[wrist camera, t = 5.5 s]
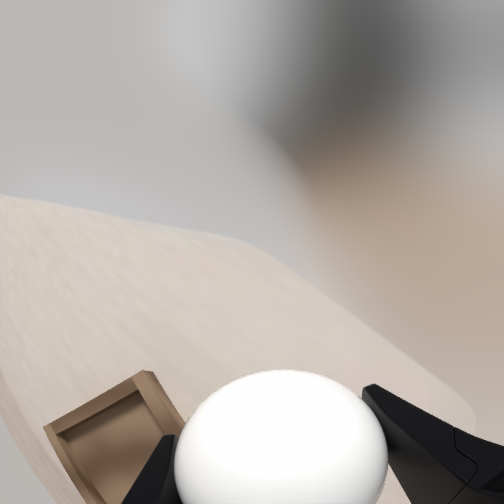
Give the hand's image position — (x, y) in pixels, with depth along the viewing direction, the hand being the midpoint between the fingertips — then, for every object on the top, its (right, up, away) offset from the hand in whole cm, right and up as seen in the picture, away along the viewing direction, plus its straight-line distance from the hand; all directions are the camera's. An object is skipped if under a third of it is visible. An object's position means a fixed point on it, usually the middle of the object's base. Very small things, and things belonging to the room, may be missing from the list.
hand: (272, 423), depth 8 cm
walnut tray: (-9, -11, +9) cm, 17 cm away
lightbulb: (+1, -4, +6) cm, 8 cm away
